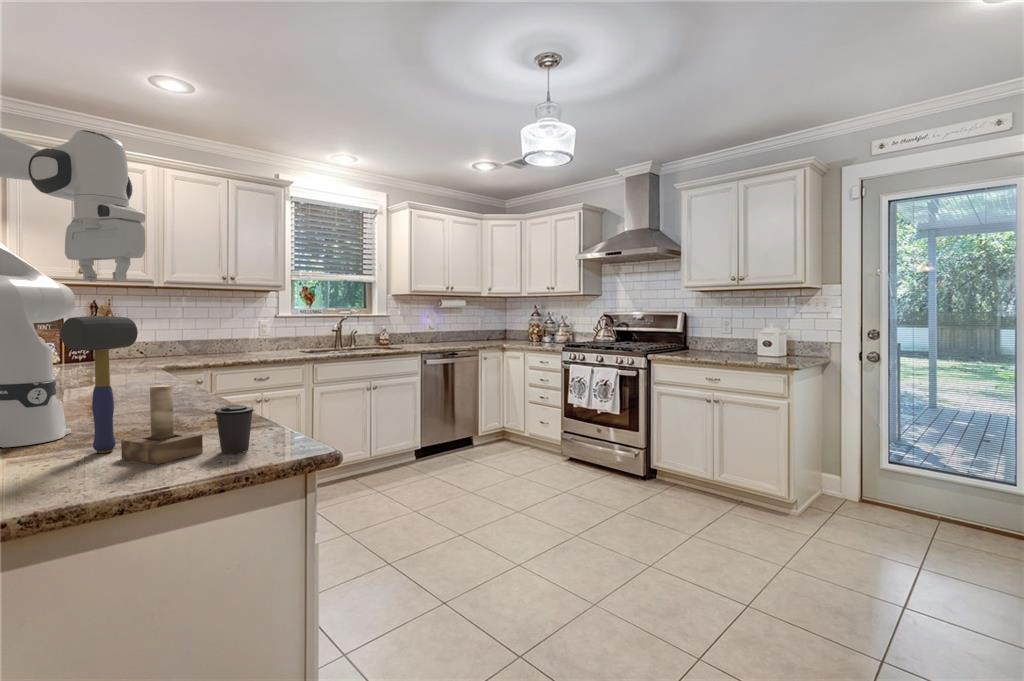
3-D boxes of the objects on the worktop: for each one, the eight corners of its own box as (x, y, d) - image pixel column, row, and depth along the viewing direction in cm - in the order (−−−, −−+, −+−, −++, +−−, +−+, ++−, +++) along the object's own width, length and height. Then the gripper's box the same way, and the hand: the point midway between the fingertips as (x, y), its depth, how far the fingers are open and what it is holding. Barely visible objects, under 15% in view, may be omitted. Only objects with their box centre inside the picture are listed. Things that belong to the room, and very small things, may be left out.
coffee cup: (212, 457, 111) (211, 410, 110) (215, 448, 118) (214, 404, 118) (255, 453, 114) (254, 408, 114) (255, 444, 122) (254, 402, 121)
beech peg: (146, 457, 111) (144, 387, 110) (165, 452, 114) (164, 384, 114) (159, 459, 109) (157, 388, 108) (179, 454, 113) (177, 385, 112)
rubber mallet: (89, 461, 107) (84, 315, 106) (61, 458, 109) (55, 315, 108) (144, 446, 119) (140, 315, 118) (118, 444, 121) (114, 315, 120)
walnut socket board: (121, 458, 109) (121, 440, 109) (168, 447, 118) (168, 430, 118) (157, 464, 105) (156, 445, 105) (202, 452, 114) (202, 434, 114)
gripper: (53, 214, 107) (56, 281, 108) (118, 207, 100) (120, 279, 101) (88, 219, 113) (90, 283, 114) (151, 213, 106) (153, 281, 106)
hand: (104, 281), depth 107 cm, fingers open, 8 cm apart
